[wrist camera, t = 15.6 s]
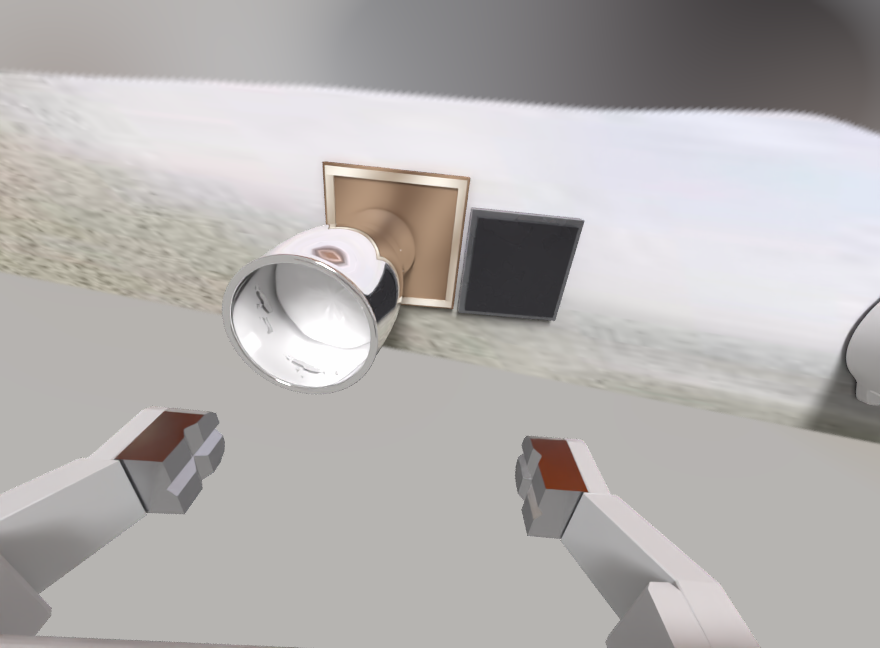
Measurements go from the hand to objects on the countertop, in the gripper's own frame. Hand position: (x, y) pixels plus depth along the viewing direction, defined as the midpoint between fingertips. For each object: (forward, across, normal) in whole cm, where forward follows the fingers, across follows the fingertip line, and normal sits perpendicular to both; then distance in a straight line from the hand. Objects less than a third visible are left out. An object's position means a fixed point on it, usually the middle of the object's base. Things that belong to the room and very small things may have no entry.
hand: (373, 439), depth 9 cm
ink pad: (+22, -8, +2) cm, 23 cm away
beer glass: (+21, +3, +1) cm, 21 cm away
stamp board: (+22, +2, 0) cm, 22 cm away
